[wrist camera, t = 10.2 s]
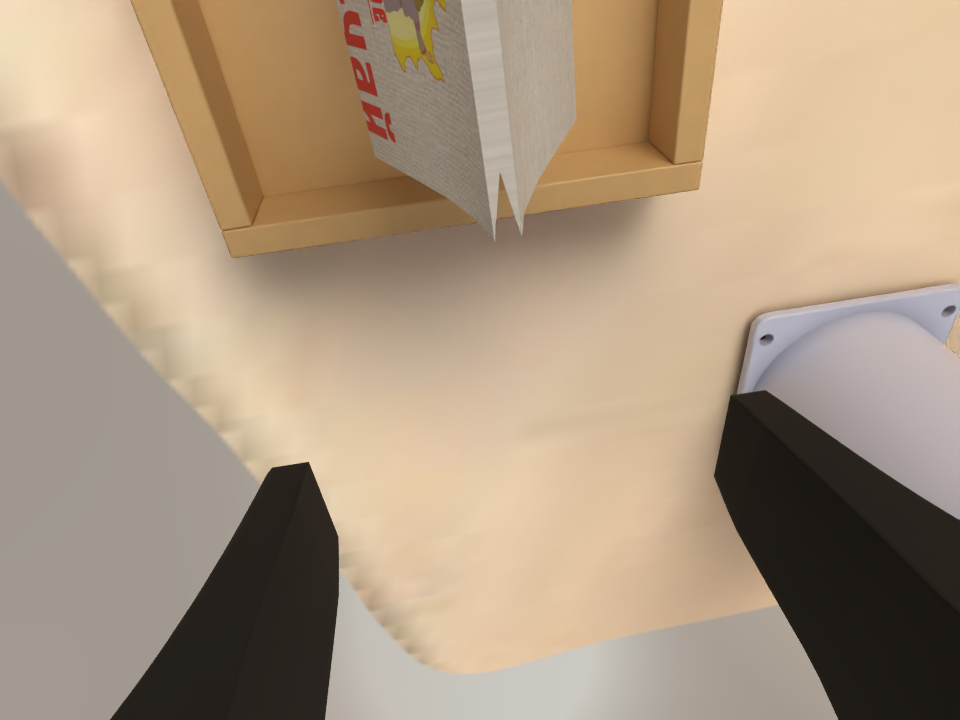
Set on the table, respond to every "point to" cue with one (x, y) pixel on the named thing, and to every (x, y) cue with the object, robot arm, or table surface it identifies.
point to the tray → (345, 136)
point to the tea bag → (465, 92)
